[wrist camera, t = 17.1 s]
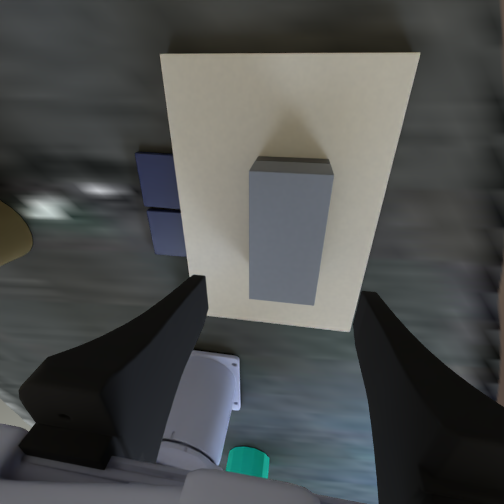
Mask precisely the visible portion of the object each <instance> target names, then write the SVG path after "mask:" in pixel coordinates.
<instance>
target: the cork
mask: <svg viewBox="0 0 504 504" xmlns="http://www.w3.org/2000/svg"><path fill="white" fill-rule="evenodd" d="M32 244H33V242H32V235H31V232H30V230H29V228H28V226H27V224H26V223H25V222H24V220H23V219H22V218H21V216H20V215H19V214H17V213H16V212H15V211H14V210H13V209H12V208H11V207H9V206H8V205H6V204H4V203H3V202H1V201H0V266H1V265H4V264H6V263H8V262H10V261H12V260H15V259H17V258H19V257H21V256H23V255H25V254H27V253H28V252H29V251H30V250H31V247H32Z"/></svg>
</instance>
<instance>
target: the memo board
mask: <svg viewBox="0 0 504 504" xmlns="http://www.w3.org/2000/svg"><path fill="white" fill-rule="evenodd" d="M419 57H420V52H377V53H199V54H160V60H161V68H162V75H163V83H164V90H165V97H166V105H167V112H168V120H169V127H170V135H171V142H172V150H173V157H174V165H175V172H176V179H177V187H178V194H179V202H180V209H181V217H182V224H183V232H184V239H185V247H186V254H187V262H188V269H189V276H190V277H191V276H192V275H204V276H206V286H207V296H208V307H209V309H208V312H207V316H215V317H224V318H232V319H241V320H250V321H258V322H267V323H275V324H284V325H293V326H301V327H310V328H319V329H327V330H336V331H344V332H350V328H351V324H352V320H353V317H354V313H355V309H356V305H357V301H358V297H359V293H360V289H361V285H362V281H363V277H364V273H365V269H366V265H367V262H368V258H369V254H370V250H371V246H372V242H373V238H374V234H375V230H376V226H377V222H378V218H379V214H380V210H381V207H382V203H383V199H384V195H385V191H386V187H387V183H388V179H389V175H390V171H391V167H392V163H393V159H394V155H395V152H396V148H397V144H398V140H399V136H400V132H401V128H402V124H403V120H404V116H405V112H406V108H407V104H408V100H409V97H410V93H411V89H412V85H413V81H414V77H415V73H416V69H417V65H418V61H419ZM258 156H269V157H294V158H319V159H329V161H330V164H331V167H332V170H333V173H334V179H333V186H332V192H331V199H330V206H329V212H328V219H327V225H326V232H325V238H324V245H323V251H322V258H321V264H320V271H319V277H318V284H317V290H316V297H315V304H314V306H311V305H302V304H293V303H283V302H274V301H264V300H255V299H249V170H250V168H251V167H252V165H253V163H254V162H255V161H256V159H257V157H258Z"/></svg>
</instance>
